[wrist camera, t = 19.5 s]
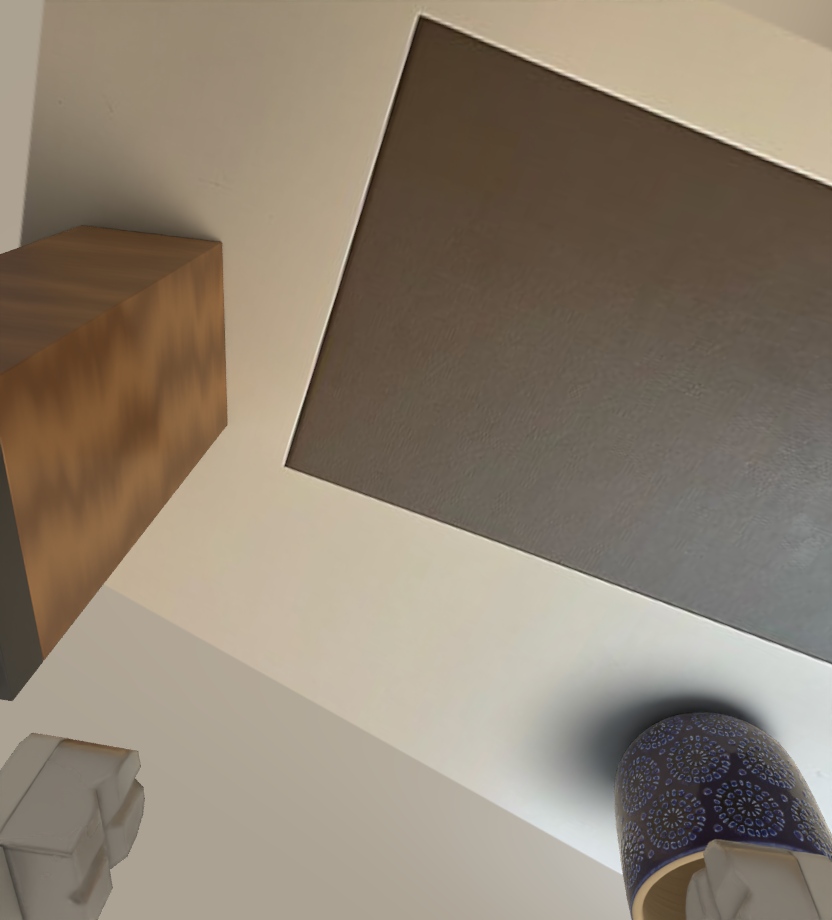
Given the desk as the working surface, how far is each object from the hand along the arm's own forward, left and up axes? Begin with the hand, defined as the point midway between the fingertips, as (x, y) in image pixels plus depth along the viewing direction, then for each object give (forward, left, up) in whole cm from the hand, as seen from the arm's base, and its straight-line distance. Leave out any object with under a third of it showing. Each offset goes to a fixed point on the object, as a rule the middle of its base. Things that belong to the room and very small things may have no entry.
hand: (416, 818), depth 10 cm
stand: (+9, -22, -43) cm, 49 cm away
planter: (+44, +27, -43) cm, 67 cm away
